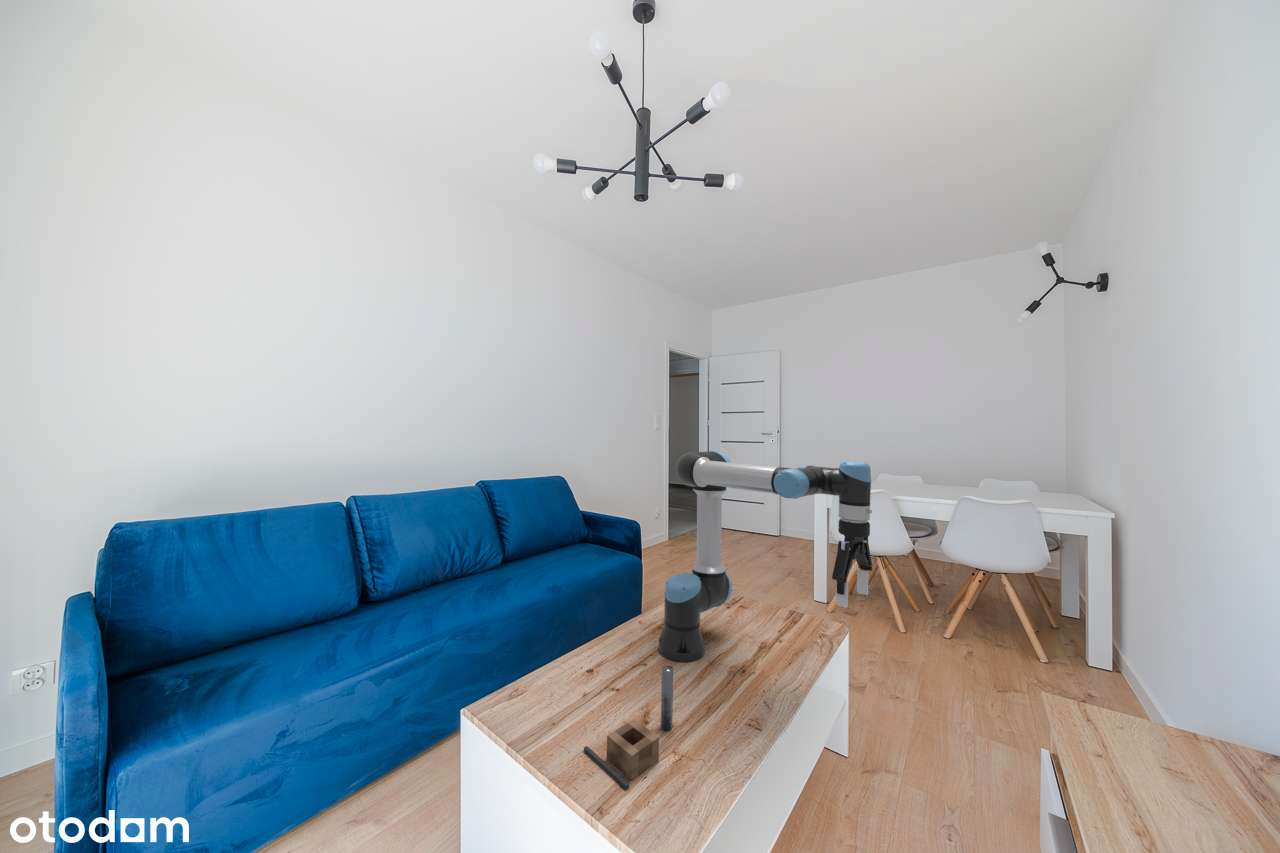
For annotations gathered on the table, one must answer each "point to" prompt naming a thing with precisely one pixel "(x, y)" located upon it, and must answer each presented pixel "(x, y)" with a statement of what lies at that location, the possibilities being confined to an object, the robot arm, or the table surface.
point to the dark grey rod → (606, 768)
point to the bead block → (632, 748)
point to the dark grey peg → (667, 698)
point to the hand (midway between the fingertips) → (852, 599)
